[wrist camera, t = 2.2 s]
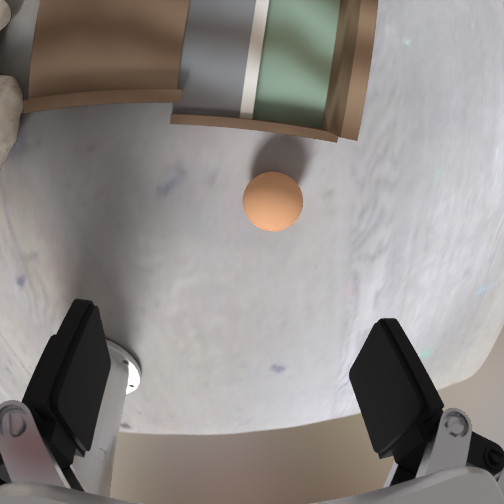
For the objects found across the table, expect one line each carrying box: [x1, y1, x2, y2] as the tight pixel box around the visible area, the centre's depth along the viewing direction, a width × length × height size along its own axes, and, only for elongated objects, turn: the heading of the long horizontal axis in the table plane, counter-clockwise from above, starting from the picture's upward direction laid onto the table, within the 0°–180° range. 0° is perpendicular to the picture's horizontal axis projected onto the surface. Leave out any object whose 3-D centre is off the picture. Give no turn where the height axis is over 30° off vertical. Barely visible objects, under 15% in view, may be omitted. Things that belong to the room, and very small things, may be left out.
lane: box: [23, 0, 378, 143], centre depth 17 cm, size 15×25×7 cm, turn 83°
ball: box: [243, 172, 303, 231], centre depth 26 cm, size 5×5×5 cm
